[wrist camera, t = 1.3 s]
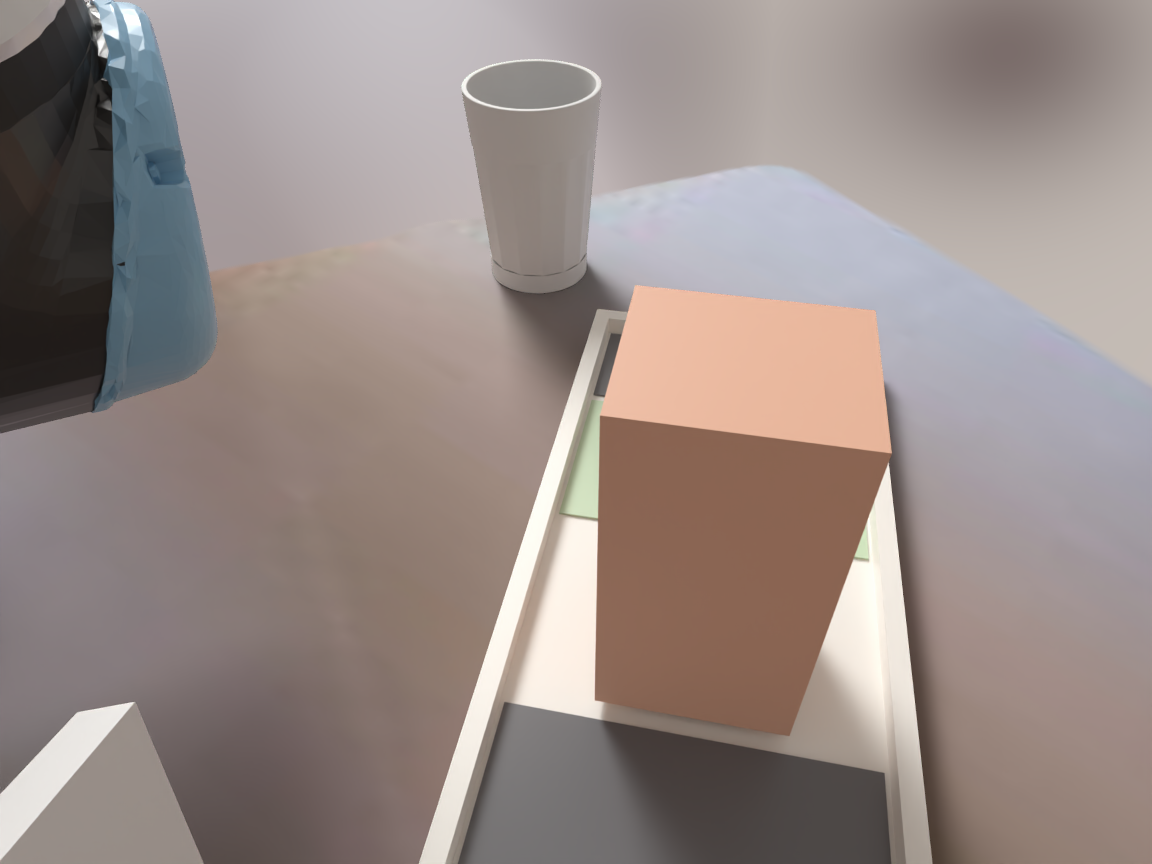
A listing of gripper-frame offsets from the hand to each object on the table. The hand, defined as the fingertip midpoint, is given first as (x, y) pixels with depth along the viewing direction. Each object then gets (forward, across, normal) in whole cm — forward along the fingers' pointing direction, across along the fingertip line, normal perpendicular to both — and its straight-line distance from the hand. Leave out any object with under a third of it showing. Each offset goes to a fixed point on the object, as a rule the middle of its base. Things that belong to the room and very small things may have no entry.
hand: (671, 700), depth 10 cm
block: (+19, +1, -11) cm, 22 cm away
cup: (+47, -3, +1) cm, 47 cm away
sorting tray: (+24, +2, -11) cm, 27 cm away
